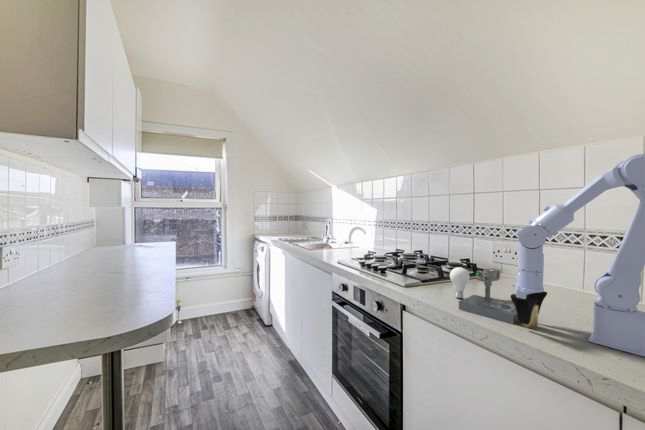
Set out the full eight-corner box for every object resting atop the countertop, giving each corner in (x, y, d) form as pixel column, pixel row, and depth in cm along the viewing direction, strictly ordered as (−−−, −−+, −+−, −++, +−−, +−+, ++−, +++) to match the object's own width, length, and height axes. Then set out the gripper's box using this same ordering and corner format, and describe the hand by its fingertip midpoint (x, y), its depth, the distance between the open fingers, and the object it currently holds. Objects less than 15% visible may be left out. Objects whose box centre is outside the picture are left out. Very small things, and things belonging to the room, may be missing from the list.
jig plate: (525, 315, 86) (526, 306, 86) (513, 324, 79) (513, 315, 79) (473, 302, 98) (473, 294, 98) (458, 309, 91) (458, 301, 91)
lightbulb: (460, 302, 98) (460, 270, 97) (445, 296, 103) (445, 266, 103) (473, 299, 100) (474, 268, 100) (457, 294, 106) (458, 265, 106)
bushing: (539, 326, 78) (540, 304, 78) (535, 330, 75) (535, 307, 75) (522, 321, 81) (522, 300, 81) (517, 325, 79) (518, 303, 78)
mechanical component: (473, 297, 102) (474, 269, 102) (494, 295, 106) (494, 268, 106) (480, 300, 100) (481, 271, 99) (501, 297, 103) (502, 269, 103)
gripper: (521, 264, 86) (520, 309, 86) (503, 270, 76) (502, 321, 77) (551, 268, 80) (549, 316, 81) (536, 276, 71) (534, 330, 71)
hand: (528, 319), depth 78 cm, fingers open, 7 cm apart
